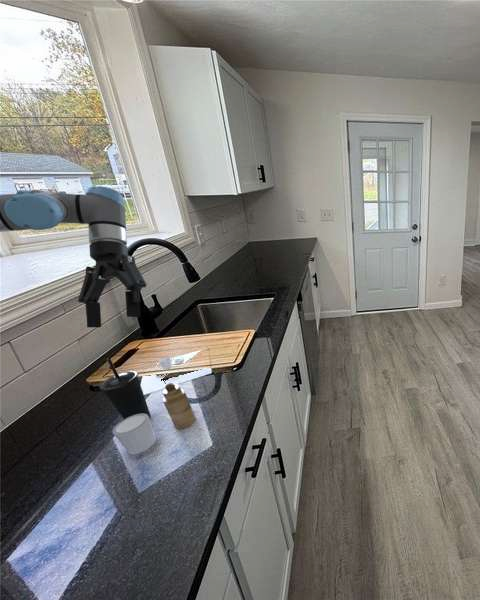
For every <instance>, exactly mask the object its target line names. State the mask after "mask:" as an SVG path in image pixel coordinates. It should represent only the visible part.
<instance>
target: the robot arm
mask: <svg viewBox="0 0 480 600" xmlns="http://www.w3.org/2000/svg"><path fill="white" fill-rule="evenodd" d="M124 201H125V200H124V196H123V194H121V192H119V191H118V190H117V189H114V188H111V187H108V186H101V185H100V186H91V187H88V188H87V189H86V192H85V194H81V193H80V194H77V193H76V194H74V193H64V192H55V191H46V190H45V191H44V190H39V189H31V190H30V189H20V190H17V191H16V193H6V194H5V193H4V194H0V233H3V232H13V231H27V230H33V231H44V230H49V229H53V228H55V227H57V226H58V225H60V224H78V225H79V224H80V225H87V226H88V227H87V228H88V229H87V230H88V243H89V257H90V258H91V259H92V260H94V261H95V265H94V266H90V265H89V266H86V267H85V275H84V279H83V281H82V282H83V283H82V285H81V288H80V292H79V296H78V301H77V302H78V303H81V304H85V315H86V327H87V328H102V315H101V302H99V300H100V298H101V296H102V294H103V292H104V290H105V287H106V286H107V284H108V283H110V282H111V280H114V279H115V278H116V279H118V281H119V282H121V284H122V285H123V286H124V287H125V289H124V290H125V293H124V294H125V306H126V308H125V309H126V317H127V318H140V317H141V305H140V303H141V291H142V289H143V288H147V282H146V280H145V278H144V277H143V275H142V273H141V271H140V269H139V267H138V266H137V264H136V258H135V257H134V256H131V255H129V250H128V249H129V248H128V246H127V245H128V240H127V220H126V219H127V218H126V208H125V206H126V205H125V202H124Z"/></svg>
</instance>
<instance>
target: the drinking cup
mask: <svg viewBox="0 0 480 600" xmlns="http://www.w3.org/2000/svg"><path fill="white" fill-rule="evenodd" d="M106 362H107V363H108V365H109V367H110V369H111V371H112V373H113V375H111V376H109V377H108V378H106V379H105V380H103V381H102V382H101V383H100V385H99V390H100V391H102V392H104V394H105V396H106V397H107V398H108V399H109V401H110V402H111V403H112V405H113V407H114V408H115V409H116V410H117V412H118V413H119V414H120V416H121V418H122V420H124V419H126V418H128V417H130V416H133V415H136V414H141V413H143V414H147V415H148V416H149V419H150V420H151V417H152V416H151V413H150V410H149V406H148V404H147V400H146V397H145V395H144V394H143V391H142V388H141V381H140V379H139V372H137V371H136V370H127V371H122V372H118V371H117V369H116V367H115V365H114V363H113V361H112V359H111V357H107V358H106Z"/></svg>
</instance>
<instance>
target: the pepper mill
mask: <svg viewBox="0 0 480 600" xmlns="http://www.w3.org/2000/svg"><path fill="white" fill-rule="evenodd" d="M162 394H163V397H162V402H163V404H164V406H165V408H166V411H167V413H168V415H169V418H170V420H171V422H172V425H173V426H174V428H175V429H176V428H177V430H183V429H186V428H188V427H191V425H193V424H194V423H195V422H196V420H197V417H196V415H195V413H194V409H193V407H192V405H191V403H190V401H189V398H188V396H187V393H186V391H185V390H184V389H182V388H181V387H180V385H179V384H176V385H174V384H173V383H169V384H167V385H166V387H165V388H164V389H162Z"/></svg>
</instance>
